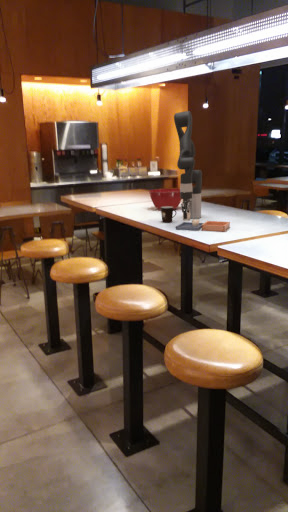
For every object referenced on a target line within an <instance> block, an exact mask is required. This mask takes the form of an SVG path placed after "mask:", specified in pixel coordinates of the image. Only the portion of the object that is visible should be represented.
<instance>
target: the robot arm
mask: <svg viewBox="0 0 288 512" xmlns="http://www.w3.org/2000/svg"><path fill="white" fill-rule="evenodd" d="M173 122H174V126H175V129H176V133H177V136H178V142H179V155H178V159H177V163H176V165H177V168H178V169H179V170H184V173H181V174H180V177H179V178H180V180H179V181H180V186H179V189H180V198H181V200H182V201H181V202H182V203H181V202H180V205H181V213H182V220H183V219H187V212H189V213H190V219H201V218H202V189H203V188H202V186H203V172H202V170H201V169H194V168H195V166H196V165H195V164H196V160H195V156H196V148H195V143H194V142H193V140H192V134H193V133H192V132H193V116H192V112H191V111H190V110H188V111H187V110H185V111H181V112H176V113H174V115H173ZM183 128H185V131H184V129H183ZM193 184H195V185H194V186H193Z"/></svg>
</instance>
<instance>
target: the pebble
mask: <svg viewBox="0 0 288 512" xmlns="http://www.w3.org/2000/svg"><path fill="white" fill-rule="evenodd" d="M191 222H192V227H199V223H200V219H199V218H192V219H191Z"/></svg>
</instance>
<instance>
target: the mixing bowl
mask: <svg viewBox="0 0 288 512" xmlns="http://www.w3.org/2000/svg"><path fill="white" fill-rule="evenodd" d="M148 192H149V196H150V199H151V202H152V205H153V206H154V207H155V208H156V209H157V210H159V211H161V207H164V206H171V207H173V210H175V209H177V208H178V207H179V205H181V202H182V199H181V198H180V188H155V189H150V190H148Z"/></svg>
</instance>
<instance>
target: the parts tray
mask: <svg viewBox="0 0 288 512" xmlns="http://www.w3.org/2000/svg"><path fill="white" fill-rule="evenodd" d="M204 223H205V222H199V227H192V221H191V222H190V221H189V222H188V221H183V222H181V223H179V224H177V225H175V230H178V231H194V232H195V231H197V232H198V231H199V230H202V224H204Z"/></svg>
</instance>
